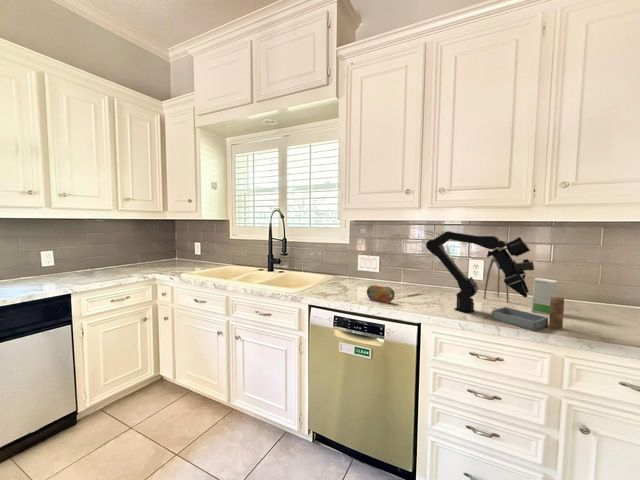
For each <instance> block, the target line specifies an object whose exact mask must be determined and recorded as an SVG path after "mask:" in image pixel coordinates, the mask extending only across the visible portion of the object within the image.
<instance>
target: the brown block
mask: <svg viewBox="0 0 640 480" xmlns="http://www.w3.org/2000/svg"><path fill="white" fill-rule="evenodd" d="M564 306H565V298H564V297H559V296H556V297H551V300H550V315H548V329H553V330H557V331H563V328H564V327H563V325H564V324H563V323H564V308H565V307H564Z"/></svg>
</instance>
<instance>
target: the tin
mask: <svg viewBox="0 0 640 480" xmlns="http://www.w3.org/2000/svg"><path fill="white" fill-rule="evenodd" d="M395 294H396V293H395V291H394V289H393V288H391V287H390V286H384V285H377V284H373V285H369V286H368V288H367V289H366V295H367V298H368V299H369V300H371V301H373V300H374V301H373V302H378V301H379V302H380V303H384V302H385V304H389V303H391V302H392V301H393V300H394V298H395Z"/></svg>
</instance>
